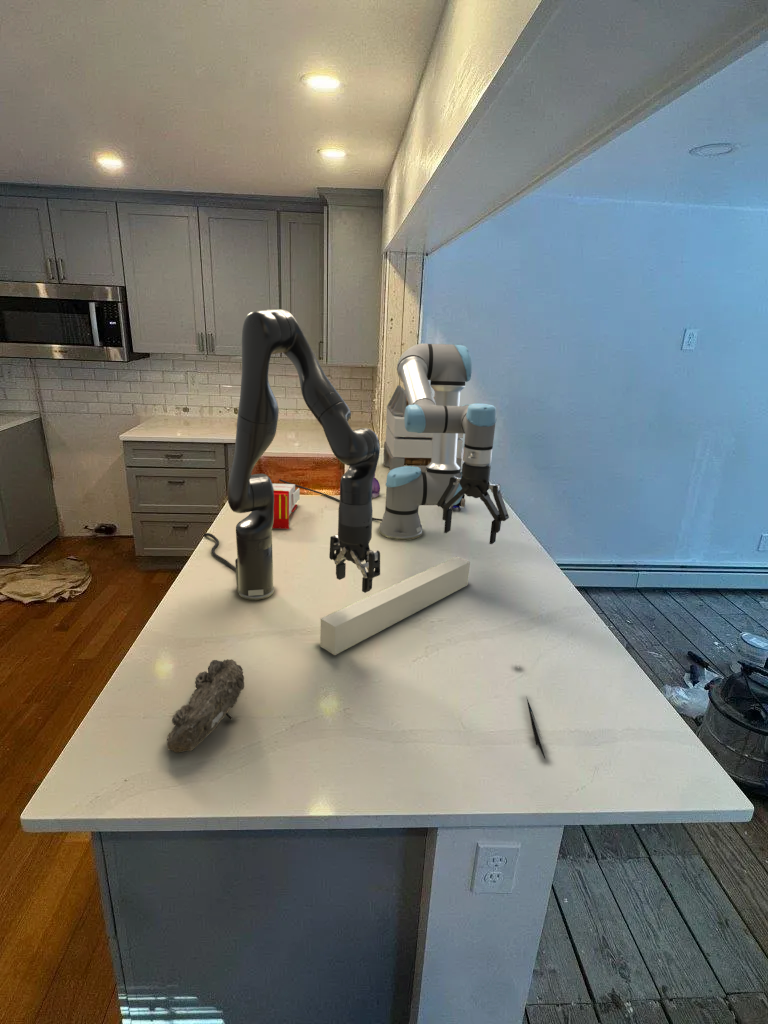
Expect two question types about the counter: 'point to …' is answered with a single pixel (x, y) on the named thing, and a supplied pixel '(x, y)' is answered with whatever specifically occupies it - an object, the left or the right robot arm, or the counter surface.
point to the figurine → (375, 487)
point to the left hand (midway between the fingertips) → (353, 584)
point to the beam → (391, 605)
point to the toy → (284, 504)
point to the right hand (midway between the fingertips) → (469, 537)
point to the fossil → (206, 705)
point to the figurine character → (461, 503)
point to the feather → (535, 728)
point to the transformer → (407, 438)
